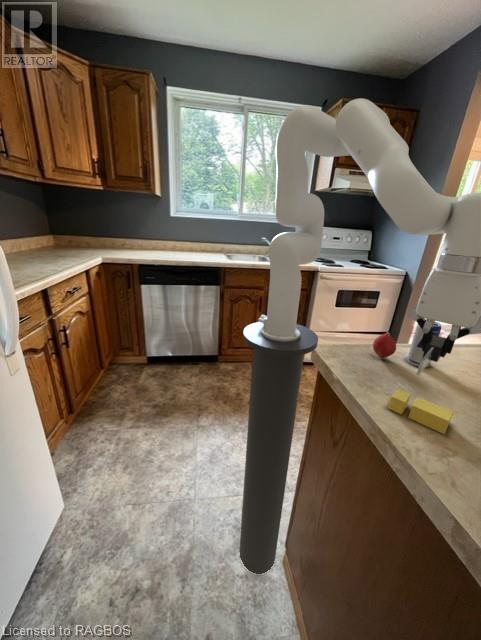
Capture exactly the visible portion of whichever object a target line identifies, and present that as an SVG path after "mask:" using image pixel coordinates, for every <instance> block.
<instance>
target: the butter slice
mask: <svg viewBox="0 0 481 640" xmlns="http://www.w3.org/2000/svg"><path fill="white" fill-rule="evenodd" d="M411 396H412V394H411V393H409V392H406V391H404V390H402V389H400V388H398V389H396V390H395V392H394V393H393V394H392V395H391V397H390V400H389V401H390V402H389V404H388V409H389V410H391V411H393V412H395V413H397V414H399V415H403V413H404V412H405V411H406V409H407V408H408V405H409V402H410V400H411Z"/></svg>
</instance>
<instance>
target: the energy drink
mask: <svg viewBox="0 0 481 640" xmlns="http://www.w3.org/2000/svg"><path fill="white" fill-rule="evenodd" d="M432 329H433V332H434V334H433V336H434V335H435V336H439V337H440V334H441V331H442V324H441V322H439V321H435V322H434V325H433V328H432ZM423 334H424V333H423V331H422V329H421V327H420V326H419V324H418V323H416V327H415V331H414V334H413V338H412V341H411V344H410V347H409V351H408V355H407V358H406V360H407V362H408V363H409V364H411V365H412V366H415V367H417V368H419V365H420V361H421V360H422V357H423V353H424V351H422V349H423V346H421V345H420V344H421V341H422V337H423ZM431 361H432V360H430V362H429V363H428V364H427V366H426V367H425V368H428V367H429V366H430V365H431Z"/></svg>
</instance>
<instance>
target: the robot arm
mask: <svg viewBox="0 0 481 640" xmlns="http://www.w3.org/2000/svg"><path fill="white" fill-rule="evenodd" d="M409 150H410V147H409V145H408V143H407V142H406V141H405V140H404V138H403V137H402V136H401V135H400V133H398V132H397V131H396V129H395V128H394V127H393V126H392V125H391V122H390V118H389V116H388V114H387V113H386V112H385V111H384V110H382V109H381V107H379V106H377V105H376V104H375V103H374V102H372V101H371V100H369V99H367V98H362V97H361V98H360V97H359V98H355V99H352V100H350V101H348V102H347V103H346V104H344V105H343V107H342V108H341V109H340V110H339V112H338V114H337V117H336V118H334V117H333V116H331V115H329V114H328V113H326V112H324V111H323V110H321V109H318V108H316V107H315V106H310V105H301V106H298V107H295V108H294V109H291V111H290V112H289V113H288V114H286V117H285V118H284V120H283V121H282V122H281V125H280V127H279V129H278V132H277V136H276V140H275V163H276V179H275V180H276V181H275V208H274V209H275V212H274V213H275V219H276V222H277V223H278V224H279V225H280V226H283V227H286V228H295V230H294V231H285V232H281V233H279V234H277V235H275V236H274V237H273V238H272V240H271V241H270V244H269V247H268V256H269V285H268V301H267V311H266V315H265V314H261V315H260V316H259V318H258V321H257V322H261V323H263V324H264V326H263V327H262V328H261V334H262V335H263V336H264V337H266V338H268V339H271V340H274V341H281V342H289V341H294V340H297V339H298V338H299V337H300V332H299V330H298V329H296V324H297V322H298V321H297V320H298V313H299V305H300V298H301V292H302V291H301V289H302V273H301V267H300V266H301V265H307V264H312V263H313V262H315V261H316V260H317V259H318V258H319V256H320V254H321V252H322V246H323V236H324V225H325V224H324V223H325V206H324V204H323V201H322V200H321V198H320V197H319V196H318V195H316V194H314V193H311V192H309V191H308V190H309V167H308V166H309V165H308V161H307V158H306V152H308V153H310V154H314V155H317V156H320V157H323V158H334V157H345V156H347V157H349V156H351V158H352V159H353V160H354V162H355V163H356V164H357V166H358V167H359V168H360V170H361V171H362V172H363V173H364V175H365V176H366V178H367V179H368V182H369V185H370V187H371V189H372V192H373V195H374V196H375V199H377V201H378V203H379V204H380V205H381V207H382V208H383V209H384V211H385V212H386V213H387V215H388V216H389V218H390V219H391V220H392V221H393V222H394V224H395V225H396V226H397V227H398V228H399V229H400V230H402V231H403V232H405V233H407V234H411V235H422V236H429V235H444V234H445V236H444V240H443V243H442V248H441V251H440V255H439V258H438V261H437V266H436V268H432V269H431V271H430V272H429V275H428V276H427V278H426V280H425V283H424V285H423V288H422V290H421V294H420V297H419V299H418V301H417V304H416V305H415V306H414V307H413V308H412V309H411V310H410V311H409V312H408V314H407V316H408V317H409V318H410V319H411V320H413V321H415V322H416V324H419V326H420V327H421V329H422V331H423V333H424V334H423V337H422V341H421V344H420V345H421V346H423V349H422V351H424V350H425V347H426V344H427V343H428V342H429V341H430V340H431V339H432V337H433V334H434V332H433V329H432V328H433V325H434V322H438V323H444V324H449V325H451V329H450V332H449V334H448V335H447V336H446V337H445V338H446V339H445V341H444V346H443V349H442V352H441V355H440V356H441V357H440V358H443V359H444V358H445V357H446V355H447V354H449V355H451V353H452V351H453V348H454V345H455V342H456V340H458V339H461V338H463V337H466V336H468V335H478V334H479V335H480V334H481V192H471V193H466V194H463V195H461V196H448V195H443V194H441V193H438V192H437V191H435V190H434V189H433V187H432V186H431V185H430V184H429V183H428V181H427V180H426V179H425V178H424V176H423V175H422V174H421V173H420V172H419V170H418V169H417V167H416V166H415V165H414V163H413V162H412V160H411V158H410V155H409Z"/></svg>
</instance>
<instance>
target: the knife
mask: <svg viewBox="0 0 481 640" xmlns="http://www.w3.org/2000/svg"><path fill="white" fill-rule="evenodd" d="M446 338H447V337H444V336H443V337H442V336H440V335H439V336H435V335H434V336H433V337H432V339H431V340H430V341H429V342H428V343H427V344H426V347H425V350H424V353H423V357H422V360H421V361H420V365H419V367H417V371H416V376H418V377H419V376H420V375H421V374H422V373H423V371H424V370H425V369H426V368H427V367H426V366H427V364H428V363H429V362H430V360H431V361H432V362H435V363H437V362H439V360H440V359H441V358H442V357H441V356H440V355H441V352H442V349H443V346H444V341H445V339H446ZM430 363H431V362H430Z"/></svg>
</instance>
